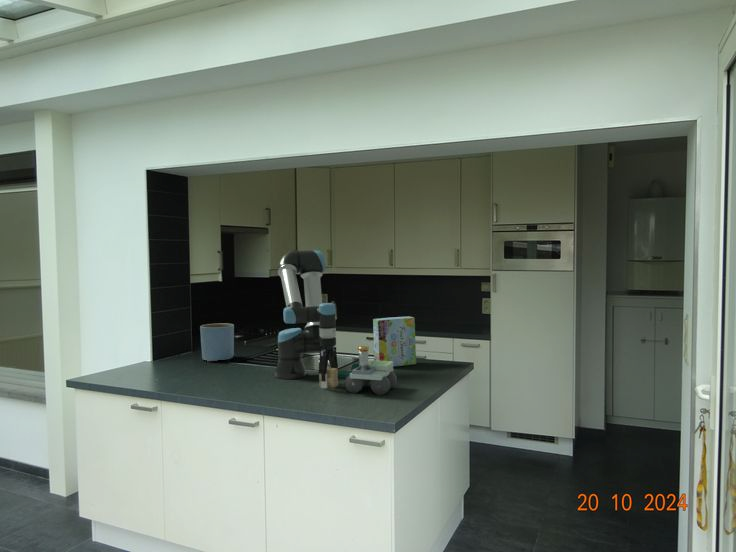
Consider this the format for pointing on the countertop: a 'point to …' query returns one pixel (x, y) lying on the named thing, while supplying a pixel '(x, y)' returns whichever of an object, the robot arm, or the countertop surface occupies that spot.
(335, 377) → the chock
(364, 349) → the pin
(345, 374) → the bracket
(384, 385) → the cart
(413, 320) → the snack box
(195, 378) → the countertop surface
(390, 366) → the tray
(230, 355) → the planter
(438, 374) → the countertop surface
